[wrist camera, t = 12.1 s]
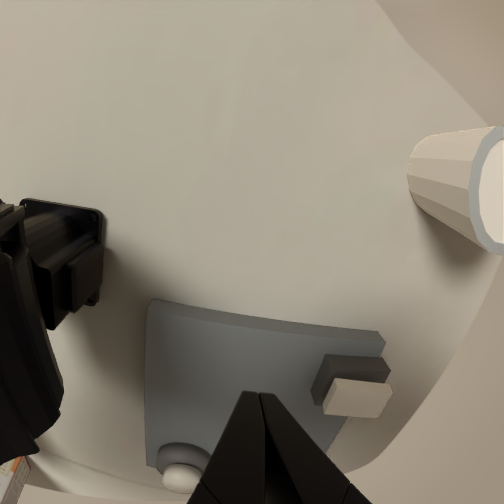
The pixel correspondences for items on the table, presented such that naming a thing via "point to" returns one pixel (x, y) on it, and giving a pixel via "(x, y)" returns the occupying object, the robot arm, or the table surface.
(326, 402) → the rocker switch
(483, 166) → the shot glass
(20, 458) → the cracker box
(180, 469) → the push button
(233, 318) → the switch panel
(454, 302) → the table surface
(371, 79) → the table surface
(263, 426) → the robot arm
